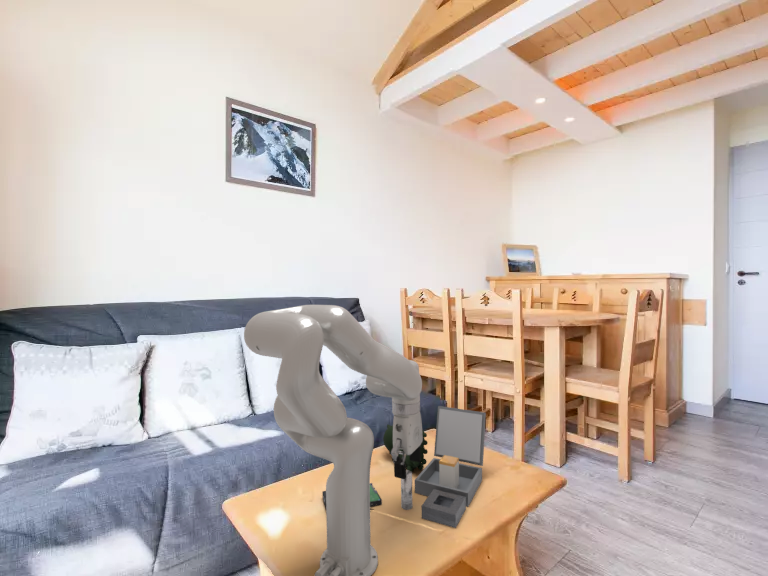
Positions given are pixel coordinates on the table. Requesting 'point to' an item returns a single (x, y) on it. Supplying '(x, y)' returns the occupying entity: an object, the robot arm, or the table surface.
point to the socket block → (444, 508)
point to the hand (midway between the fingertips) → (408, 468)
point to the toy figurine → (389, 445)
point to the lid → (460, 434)
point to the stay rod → (406, 491)
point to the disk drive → (374, 497)
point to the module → (449, 471)
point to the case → (430, 480)
